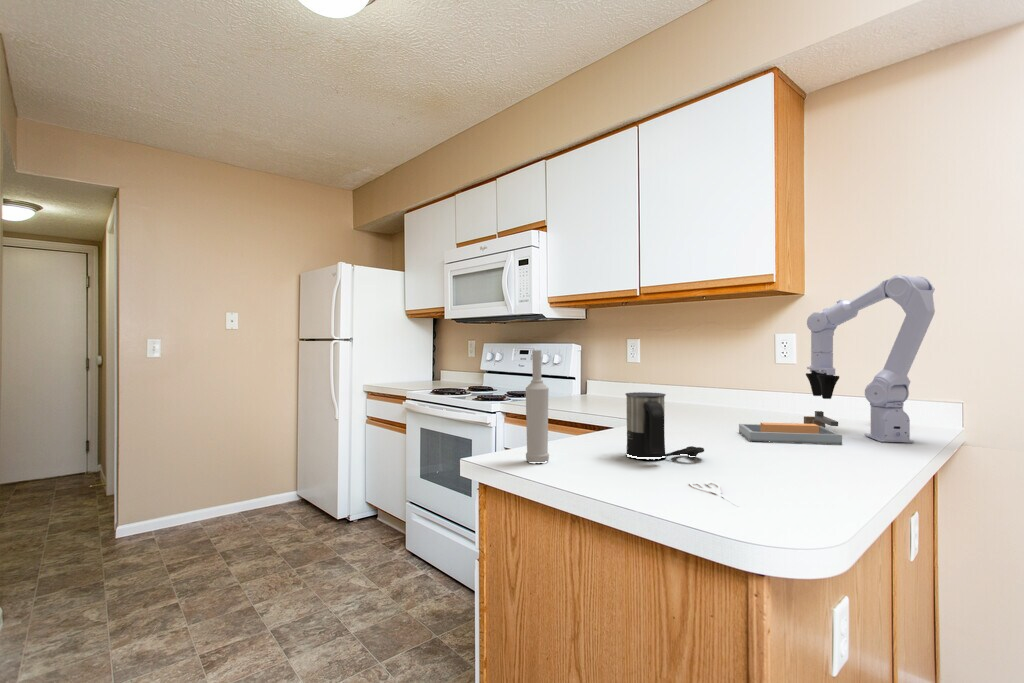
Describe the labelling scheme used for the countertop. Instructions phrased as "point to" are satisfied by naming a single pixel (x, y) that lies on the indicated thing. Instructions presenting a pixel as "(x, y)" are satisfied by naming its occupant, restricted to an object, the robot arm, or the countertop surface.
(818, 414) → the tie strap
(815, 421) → the clamp posts
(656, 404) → the milk frother
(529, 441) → the bottle
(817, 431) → the orange-brown bar
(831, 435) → the parts tray
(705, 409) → the countertop surface
